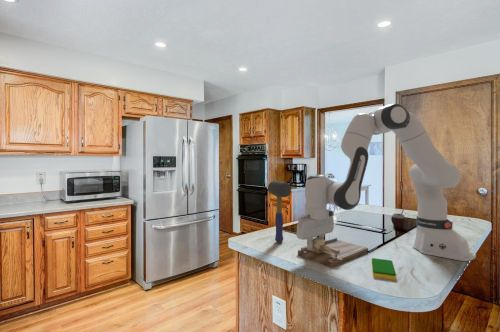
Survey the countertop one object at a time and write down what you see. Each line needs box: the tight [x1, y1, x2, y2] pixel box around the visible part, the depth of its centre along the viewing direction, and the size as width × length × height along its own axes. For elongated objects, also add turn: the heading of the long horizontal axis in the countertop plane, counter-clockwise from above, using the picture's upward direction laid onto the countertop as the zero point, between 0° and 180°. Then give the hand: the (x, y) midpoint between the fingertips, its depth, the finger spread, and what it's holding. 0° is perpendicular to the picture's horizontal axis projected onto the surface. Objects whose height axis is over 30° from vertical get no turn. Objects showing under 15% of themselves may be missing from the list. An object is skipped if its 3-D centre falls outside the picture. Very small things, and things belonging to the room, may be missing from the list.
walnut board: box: [297, 237, 369, 268], centre depth 119 cm, size 18×26×3 cm
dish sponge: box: [371, 257, 397, 281], centre depth 102 cm, size 7×14×2 cm, turn 158°
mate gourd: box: [390, 202, 410, 231], centre depth 162 cm, size 8×8×15 cm
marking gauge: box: [306, 236, 340, 257], centre depth 114 cm, size 14×4×5 cm, turn 38°
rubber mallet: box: [267, 180, 292, 244], centre depth 135 cm, size 12×8×30 cm, turn 22°
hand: (315, 246), depth 117 cm, fingers closed on marking gauge, 4 cm apart
